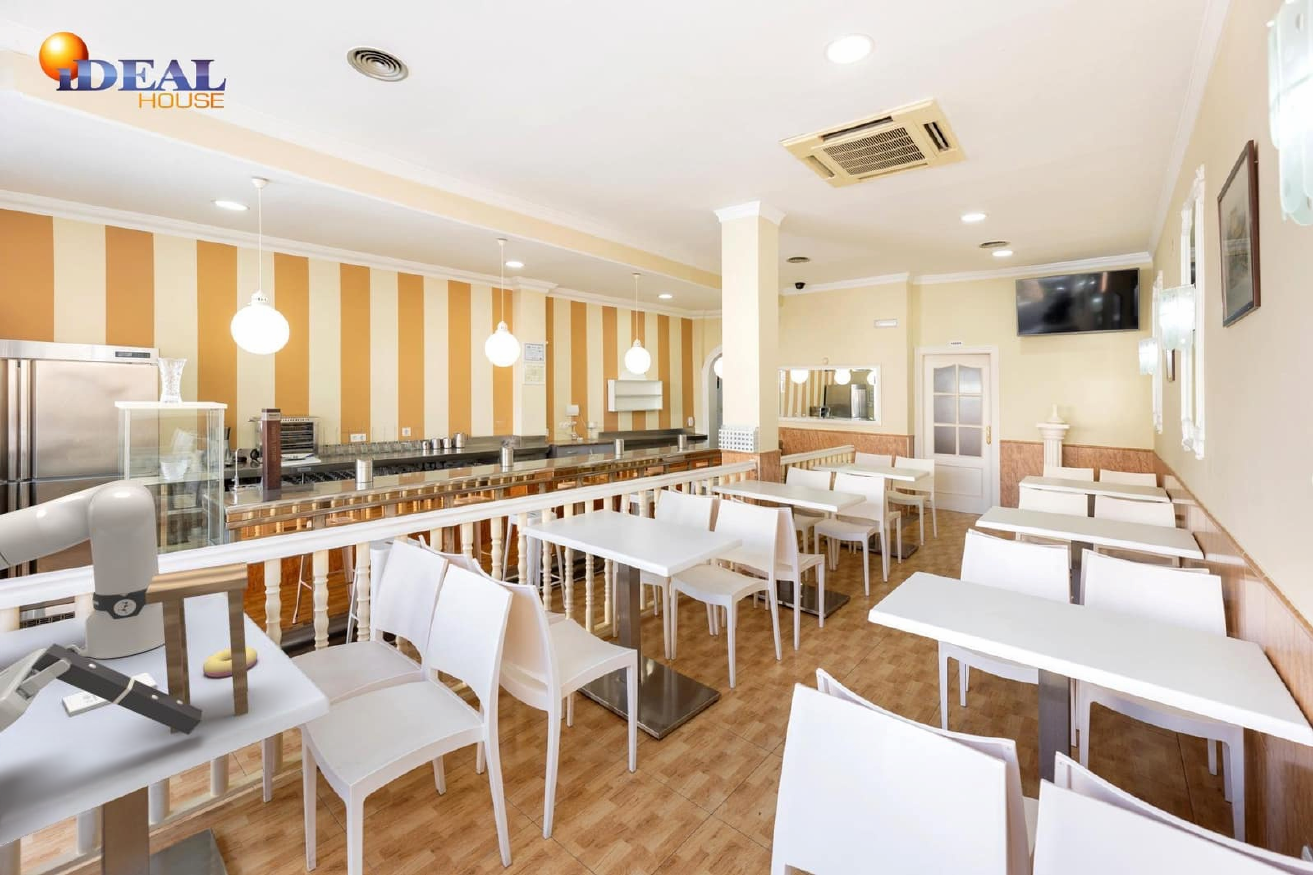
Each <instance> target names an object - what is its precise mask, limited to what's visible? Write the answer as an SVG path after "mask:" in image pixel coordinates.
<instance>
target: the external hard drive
mask: <svg viewBox="0 0 1313 875" xmlns="http://www.w3.org/2000/svg"><path fill="white" fill-rule="evenodd" d="M129 677H130V676H129ZM130 678H133V679H135V680H137V681H139V682H141V683H143V684H145V685H148V686H150V687H152V688H154V689H157V690H158V683H157V682H156V680H155V679H154V678H153V677H152V676H151V675H150V674H149V673H148V672H143V673H140V674H137V675H134V676H131V677H130ZM61 703H62V704H63V706H64V707H63V708H65V709H66V712H67V714H68V716H69V717H70V718H71V717H74V716H77V715H80V714H84V713H87V712H89V711H93V710H96V709H99V708H103V707H104V706H108V705H112V704H113V703H112V702H110V701H108V700H105V699H103V698H101V697H98V696H96V695H94V694H91V693H89V692H87V691H84V690H83V691H81V692H78V693H75V694H72V695H68V696H65V697H63V698H61Z"/></svg>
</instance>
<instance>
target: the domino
mask: <svg viewBox="0 0 1313 875" xmlns="http://www.w3.org/2000/svg"><path fill="white" fill-rule="evenodd" d="M61 658H67V659H68V661H70V662H71V663H72V664H71V666H70V668H69V669H68V670H67V671H66V672H64V673H62V674H61V675H59V676H57V677H56V678H55V679H56V680H59V681H61V682H64V683H66V684H68V685H70V686H73V687H75V688H77V689H80V690H82V691H83V692H84V691H87V692H89V693H91V694H94V695H96V696H98V697H101V698H103V699H105V700H108V701H110V702H112V704H114V705H117V706H120V707H122V708H125V709H127V710H129V711H131V712H134V713H137V714H138V715H141V716H143V717H146V718H148V719H150V720H153V721H154V722H157V723H160V724H161V725H164V726H167V727H169V728H170V729H171V728H173V729H176V730H178V732H181V733H183V734H185V735H190V733H191V732H192V731H193V730H194V729H195V728H196V727H197V726H198V725H199V724H200V723H201V721H202V716H203V709H201V708H199V707H196V706H194V705H191V703H190V704H187V703H185V702H183V701H181V700H179V699H176V698H174V697H172V696H170V695H168V693H166V692H163V691H161V690H159V689H158V688H157V689H154V688H152V687H150V686H148V685H145V684H143V683H141V682H139V681H137V680H135V679H133V678H130V676H128V675H126V674H123V673H120V672H119V671H117V670H114V669H113V668H110V667H108V666H106V665H104V664H101V663H99V662H97V661H95V660H92V659H90V658H88V657H84V656H82V655H79V654H77V653H75V652H73V651H70V650H68V649H66V647H64V646H62V645H60V644H57V643H55V642H54V643H52V645H50V646H49V648H47V650H46V651H45V652H44V653H43V654H42V655H41V656H40V657H39V658H38V659H37V660H36V662H35V663H34V664H33V666H32V667H31V668H33V669H35V670H37V671H40V672H41V671H43V670H44V669H46V668H47V667H49V666H50V665H51V664H52V663H54V662H56V661H58V660H59V659H61Z"/></svg>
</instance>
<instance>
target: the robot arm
mask: <svg viewBox="0 0 1313 875" xmlns="http://www.w3.org/2000/svg"><path fill="white" fill-rule="evenodd" d="M156 517H157V516H156V505H155V500H154V497H153V494H152V492H151V491H150V489H148V488H147V486H145V485H144V484H142V483H140V482H137V481H134V480H129V479H120V480H113V481H110V482H107V483H104V484H100V485H97V486H93V487H90V488H87V489H84V490H81V491H77V492H74V493H71V494H67V495H64V496H62V497H57V498H55V499H52V500H50V501H45V502H43V503H40V504H36V505H32V506H30V507H29V506H27V507H25V508H21V509H18V510H14V511H11V512H6V513H4V514H0V571H1V570H4V569H8V568H11V567H15V566H18V565H21V564H25V563H27V562H30V561H34V560H37V559H39V558H43V557H45V556H49V555H52V554H56V553H59V552H62V551H64V550H68V549H69V548H71V547H74V546H76V545H79V544H81V543H84V542H86V541H88V540H89V542H90V549H91V550H90V551H91V558H92V568H93V581H94V590H95V591H94V592H93V593H92V601H91V602H92V605H93V609H94V611H92V613H90V615H88V617H87V618H86V619H85V621H84V622H85V623H84V624H85V625H84V626H85V631H84V632H85V635H84V636H85V644H84V645H82V646H81V647H80V648H79V647H78V646H77V645H76V644H70V645H68V646H66V647H65V648H66V649H68V650H70V651H73V652H75V653H77V654H79V655H82V656H84V657H86V658H88V657H89V658H94V659H113V658H114V659H115V658H122V657H128V656H132V655H135V654H139V653H143V652H146V651H150V650H153V649H155V648H158V647H161V646H162V645H165V637H164V623H163V608H162V602H160V603H154V604H148V605H146V596H145V593H146V591H147V589H148V587H149V585H150V583H151V581H152V579H153V577H154V575H156V574H160V570H159V556H158V539H157V537H158V536H157V535H158V534H157V521H156ZM46 650H48V648H45V647H43V648H39V649H37V650H35V651H33V652H31V653H29V654H28V655H27V656H25V657H23V658H21V659H19V660H18V661H16V662H15V663H13V664H11V665H10V666H8V667H7V668H5V669H4V670H2V671H0V733H2V732H4V730H6V729H7V728H9V727H10V726H11V725H13V724H14V723H16V721H18V720H19V719H20V718H21V717H22V716H23V715H24V714H26V711H27V710H28V708H29V707H30V705H31V704H32V702H33V701H34V699H35V697H37V695H38V693H39V692H40V691H41V690H43V689H44V688H45V687H46V686H47V685H49V684H50V683H51V682H53V681H54V680H55V679H56V677H57V676H59V675H61V674H62V673H64V672H66V671H67V670H68V669H69V668H70V666H71V664H72V663H71V662H70V661H68V659H67V658H61V659H59V660H58V661H56V662H54V663H52V664H51V665H50V666H49V667H47V668H46V669H44V670H43V671H41V672H40V671H37V670H35V669H33V668H31V667H32V666H33V664H34V663H35V662H36V660H37V659H38V658H39V657H40V656H41V655H42V654H43V653H44V652H45V651H46Z"/></svg>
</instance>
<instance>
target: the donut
mask: <svg viewBox="0 0 1313 875" xmlns="http://www.w3.org/2000/svg"><path fill="white" fill-rule="evenodd" d="M245 647H246V664H247V670H248V669H250V668H251V667H252V666H253V665H254V664H255V663H256V661H257V659H258V652H257V651H256V649H254V648H253V647H250V646H245ZM202 670H203V671H202V672H203V673H204V674H205V675H206V676H208V677H210V678H211V677H212V678H225V677H229V676H232V660H231V647H230V648H226V649H224V650H221V651H218V652H216V653H214V654H213V655H210V657H208V658H207V659H206V660H205V661H204V663H203V665H202Z"/></svg>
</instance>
